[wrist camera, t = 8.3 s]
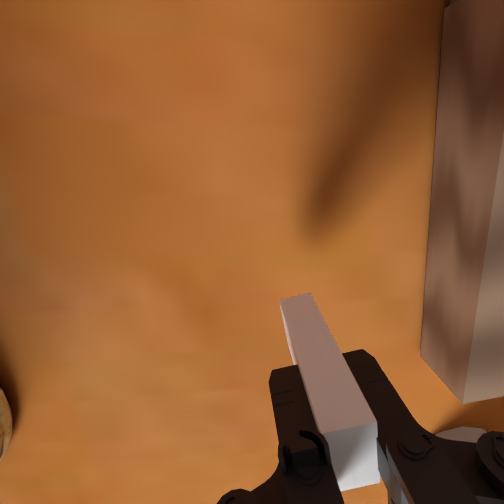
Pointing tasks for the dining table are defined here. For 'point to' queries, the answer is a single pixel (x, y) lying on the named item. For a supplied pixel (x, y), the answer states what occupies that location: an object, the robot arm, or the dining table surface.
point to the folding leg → (468, 207)
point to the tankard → (5, 424)
